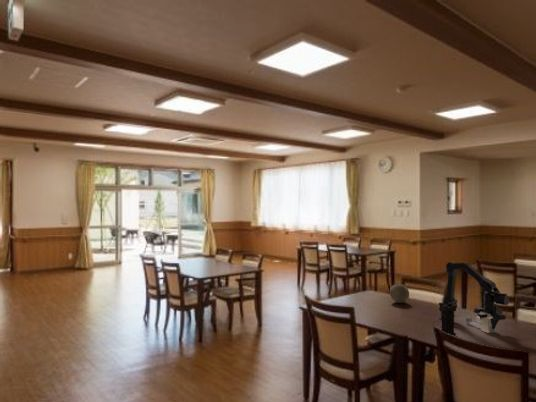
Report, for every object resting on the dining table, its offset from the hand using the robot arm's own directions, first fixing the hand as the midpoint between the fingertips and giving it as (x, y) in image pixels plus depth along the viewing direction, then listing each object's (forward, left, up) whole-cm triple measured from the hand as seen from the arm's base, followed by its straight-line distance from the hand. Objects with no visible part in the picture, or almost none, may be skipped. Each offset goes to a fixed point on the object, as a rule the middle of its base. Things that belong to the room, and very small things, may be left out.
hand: (489, 327), depth 248 cm
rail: (0, +7, -3) cm, 7 cm away
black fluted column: (-34, -3, -3) cm, 34 cm away
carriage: (0, +1, -3) cm, 3 cm away
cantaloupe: (-12, +75, -3) cm, 76 cm away
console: (+9, +14, -3) cm, 17 cm away
